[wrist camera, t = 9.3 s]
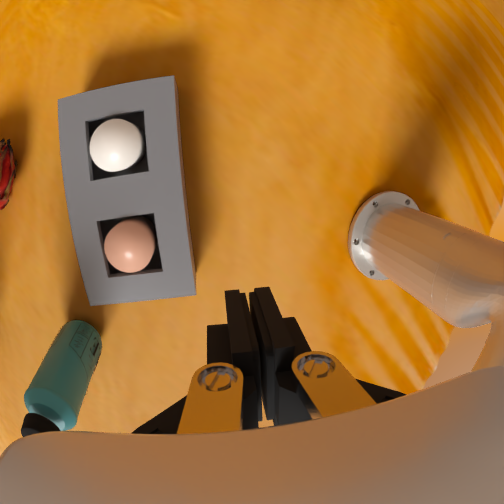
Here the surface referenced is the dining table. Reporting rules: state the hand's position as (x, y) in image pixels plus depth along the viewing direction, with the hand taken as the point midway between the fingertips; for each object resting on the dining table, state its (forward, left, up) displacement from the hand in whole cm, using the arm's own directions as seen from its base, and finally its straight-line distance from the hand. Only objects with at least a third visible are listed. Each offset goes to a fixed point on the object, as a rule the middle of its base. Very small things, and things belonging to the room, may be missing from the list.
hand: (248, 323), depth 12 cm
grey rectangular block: (+9, -3, -25) cm, 27 cm away
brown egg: (+9, +2, -23) cm, 24 cm away
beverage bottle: (+20, +15, -25) cm, 35 cm away
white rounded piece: (+9, -8, -23) cm, 26 cm away
